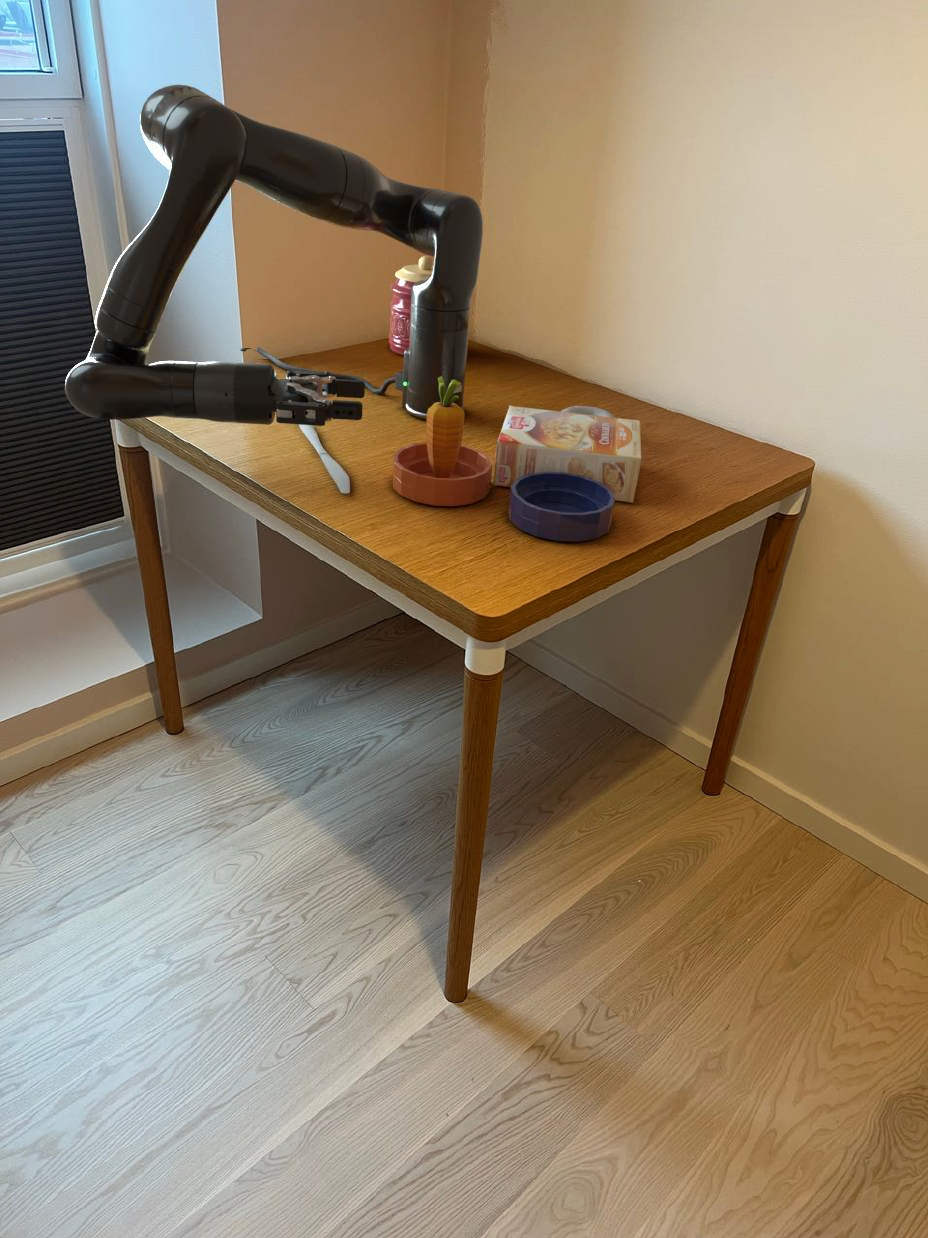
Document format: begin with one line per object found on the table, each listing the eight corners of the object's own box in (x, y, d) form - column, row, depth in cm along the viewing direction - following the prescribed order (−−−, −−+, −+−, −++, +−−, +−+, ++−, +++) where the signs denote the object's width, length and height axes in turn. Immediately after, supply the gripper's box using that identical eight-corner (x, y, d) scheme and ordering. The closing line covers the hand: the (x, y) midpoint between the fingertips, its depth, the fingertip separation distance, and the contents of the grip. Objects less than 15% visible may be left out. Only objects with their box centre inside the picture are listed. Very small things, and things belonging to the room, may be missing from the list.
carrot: (422, 477, 127) (427, 370, 119) (457, 478, 127) (465, 372, 119) (423, 492, 122) (429, 382, 115) (460, 493, 123) (469, 383, 115)
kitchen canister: (381, 354, 176) (383, 258, 167) (396, 337, 187) (399, 246, 178) (447, 362, 175) (453, 266, 166) (459, 345, 186) (465, 253, 177)
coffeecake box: (642, 456, 121) (496, 439, 123) (633, 505, 125) (492, 488, 127) (640, 417, 134) (508, 403, 135) (632, 463, 137) (504, 448, 139)
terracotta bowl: (372, 485, 124) (373, 457, 122) (437, 461, 133) (438, 434, 131) (445, 517, 117) (447, 488, 115) (508, 489, 126) (511, 462, 124)
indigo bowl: (487, 518, 118) (490, 489, 116) (547, 490, 127) (551, 463, 125) (571, 554, 111) (576, 524, 109) (628, 522, 120) (634, 494, 118)
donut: (551, 440, 144) (614, 448, 142) (553, 419, 142) (617, 427, 141) (558, 420, 152) (618, 427, 151) (560, 399, 150) (621, 407, 149)
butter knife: (315, 419, 142) (296, 419, 141) (359, 492, 121) (336, 493, 120) (315, 423, 142) (296, 423, 141) (358, 496, 121) (336, 497, 120)
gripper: (224, 380, 108) (362, 388, 110) (242, 347, 120) (365, 355, 122) (228, 441, 112) (361, 447, 114) (244, 403, 124) (364, 409, 126)
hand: (363, 399), depth 118 cm, fingers open, 8 cm apart
